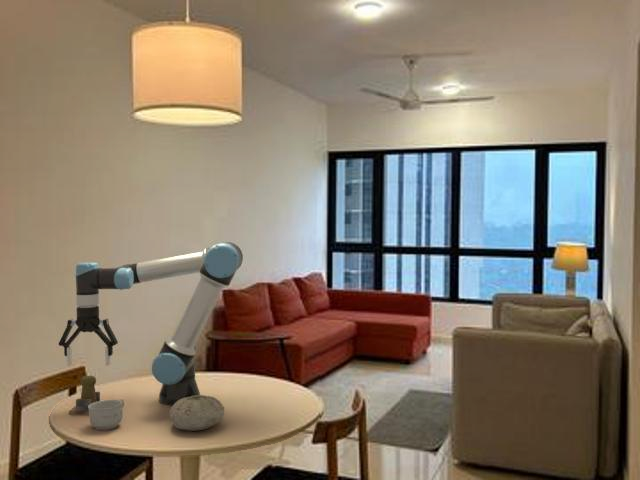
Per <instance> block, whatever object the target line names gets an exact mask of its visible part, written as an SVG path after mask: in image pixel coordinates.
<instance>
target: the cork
mask: <svg viewBox="0 0 640 480" xmlns="http://www.w3.org/2000/svg"><path fill="white" fill-rule="evenodd" d="M96 383H97V379H96V377H95V376H94V375H84V376H83V377H81V379H80V385H81V387H82V388H81V394H80V399H91V404H92V403H94V402H97V400H96V393H95V392H96V386H95V385H96Z"/></svg>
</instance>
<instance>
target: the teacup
mask: <svg viewBox="0 0 640 480" xmlns="http://www.w3.org/2000/svg"><path fill="white" fill-rule="evenodd" d="M124 407H125V401H124V399H123V398H117V399H103V400H100V401H98V402H94V403H92V404H90V405H89V406H88V408H89V414H88V417H89V419H88V420H89V423H90V424H89V425H91V426H92V427H93V428H94V429H96V430H99V431H108V430H111V429H114V428H116V427H118V426H119V424H120V423H121V422H122V421H123V416H124V415H123V414H124V413H123V410H124V409H123V408H124Z"/></svg>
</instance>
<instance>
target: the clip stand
mask: <svg viewBox="0 0 640 480" xmlns="http://www.w3.org/2000/svg"><path fill="white" fill-rule="evenodd" d="M95 393H96V400H97V402H98V401H101V391H95ZM90 404H91V399H81V398H76V399H75V406H73V407H72V408H71V409H70V410H69V411H68V415H89V408H88V406H89V405H90Z"/></svg>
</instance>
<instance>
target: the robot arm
mask: <svg viewBox="0 0 640 480" xmlns="http://www.w3.org/2000/svg"><path fill="white" fill-rule="evenodd" d="M242 252H243V251H242V250H241V248H240V247H239V246H238V245H237V244H235V243H234V242H230V241H229V242H228V241H225V242H220V243H216V244H214V245H212V246H210V247H205V248H204V249H203V251H198V252H191V253H186V254H181V255H176V256H175V255H174V256H170V257H165V258H158V259H153V260H147V261H143V262H142V261H141V262H138V263H129V264H124V265H121V266H117V267H109V268H108V267H107V268H103V267H102V268H101V267H100V266H99V263H97V262H92V261H91V262H79V263H77V264H76V266H75V286H76V288H75V289H76V290H75V291H76V294H75V295H76V296H75V299H76V300H75V301H76V302H75V303H76V304H75V305H76V306H77V307H76V319H73V318H70V319H68V320H67V324H66V328H65V329H64V331H63V333H62V336H61V338H60V340H59V341H58V346H61V347H63V350H64V351H63V353H64V356H65V357H66V366H68V367H69V366H71V365H73V348H72V347H73V346H72V345H71V344H72V343H73V342H74V341H75V340H76V338H77V337H78V336H79V334H80V333H81V332H82V333H94V334H96V335H97V336H98V337H99V339H100V340H101V341H102V342H104V344H105V345H106V346H105V348H104V349H105V350H104V351H105V352H104V353H105V367H107V366H110V365H111V356H113V353H114V350H113V346H116V345H118V342H119V341H118V339H117V337H116V334H115V333H114V331H113V330H112V328H111V326H110V323H109V318H104V319H100V307H99V305H100V303H99V301H100V297H99V295H100V293H99V290H119V291H122V290H129V289H131V288H132V287H133V285H135V284H141V283H146V282H152V281H158V280H159V281H160V280H165V279H170V278H174V277H181V276H187V275H192V274H198V273H199V276H200V279H199V281H198V283H197V286H196V287H195V289H194V291H193V294H192V295H191V298H190V300H189V301H188V303H187V306H185V307H186V308H185V310H184V312H183V313H182V316H181V318H180V319H179V322H178V324H177V326H176V329H174V332H173V333H172V334H173V335H172V336H171V337H169V338H166V339H165V340H164V342H163V344H162V347H161V349H160V350H159V353H158V355H157V356H155V358H154V359H153V360H152V364H151V372H152V375H153V377H154V378H155V380H156V381H157V382H159V383H161V388H160V391H159V395H158V401H159V403H160V404H163V405H166V406H167V405H168V406H169V405H170V406H173V405H174V404H175V403H176V402H177V401H178V400H180V399H182V398H186V397H190V396H193V395H194V396H195V395H201V393H200V389H199V387H198V383H197V380H196V343H197V342H198V339H199V337H200V336H201V333H202V331H203V329H204V328H205V325H206V323H207V321H208V320H209V317H210V315H211V313H212V312H213V309H214V307H215V305H216V303H217V301H218V300H219V298H220V295H221V292H222V291H223V289H224V288H227V287H229V286H230V284H231V282H232V280H233V279H234V276H235V274H236V272H237V271H238V270H239V269H240V267H241V266H242V264H243V260H244V258H243V257H244V254H243V253H242ZM100 324H101V326H103V328H104V331H105V332H106V334H107V335H106V334H105V332H103V330H102V328H101V327H100ZM75 325H76V326H77V328H76V330H74V332H73V334H72V335H71V336H70V337H69V335H70V333H71V330H72V329H73V327H74V326H75ZM68 337H69V338H68Z"/></svg>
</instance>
